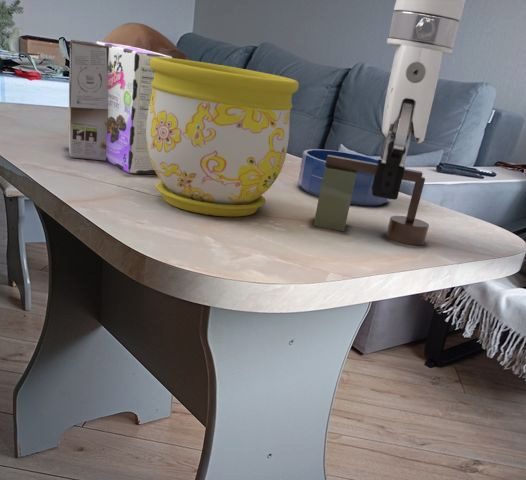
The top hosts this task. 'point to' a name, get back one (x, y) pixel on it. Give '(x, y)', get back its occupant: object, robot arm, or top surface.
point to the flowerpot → (217, 134)
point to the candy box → (129, 107)
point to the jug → (144, 39)
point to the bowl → (314, 172)
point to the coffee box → (88, 100)
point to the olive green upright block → (335, 198)
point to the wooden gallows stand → (399, 226)
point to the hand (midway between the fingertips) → (384, 194)
